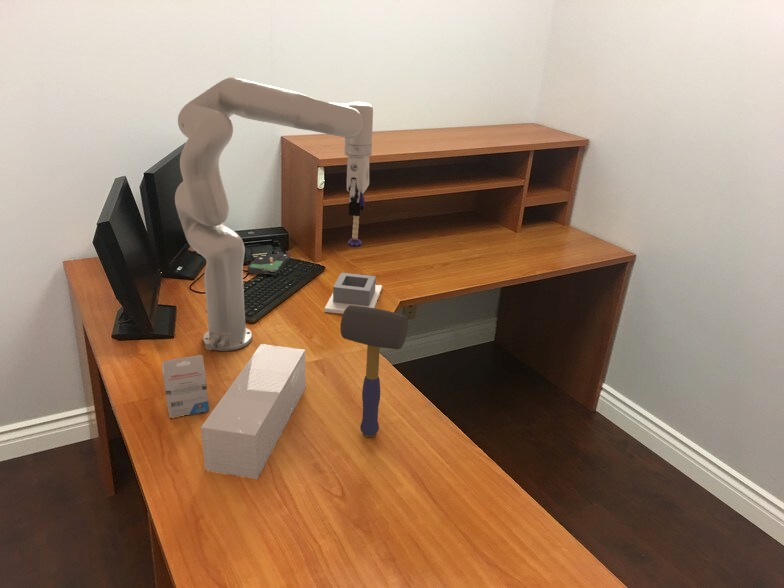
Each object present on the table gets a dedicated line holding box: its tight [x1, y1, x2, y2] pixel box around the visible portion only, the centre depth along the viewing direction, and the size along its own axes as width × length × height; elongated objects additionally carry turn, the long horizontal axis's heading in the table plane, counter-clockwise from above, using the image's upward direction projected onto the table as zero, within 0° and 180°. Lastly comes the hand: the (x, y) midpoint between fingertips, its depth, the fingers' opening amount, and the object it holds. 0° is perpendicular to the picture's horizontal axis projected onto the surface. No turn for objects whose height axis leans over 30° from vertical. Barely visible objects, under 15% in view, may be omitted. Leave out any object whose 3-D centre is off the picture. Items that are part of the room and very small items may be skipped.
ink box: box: [161, 354, 210, 419], centre depth 135 cm, size 8×5×15 cm, turn 114°
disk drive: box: [247, 252, 291, 275], centre depth 212 cm, size 10×3×15 cm
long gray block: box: [200, 343, 307, 480], centre depth 133 cm, size 32×11×11 cm, turn 171°
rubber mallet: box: [339, 305, 409, 438], centre depth 128 cm, size 12×8×30 cm, turn 73°
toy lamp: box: [347, 189, 366, 248], centre depth 181 cm, size 5×5×17 cm
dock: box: [324, 272, 383, 315], centre depth 191 cm, size 20×14×6 cm
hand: (356, 211), depth 180 cm, fingers closed on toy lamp, 4 cm apart
